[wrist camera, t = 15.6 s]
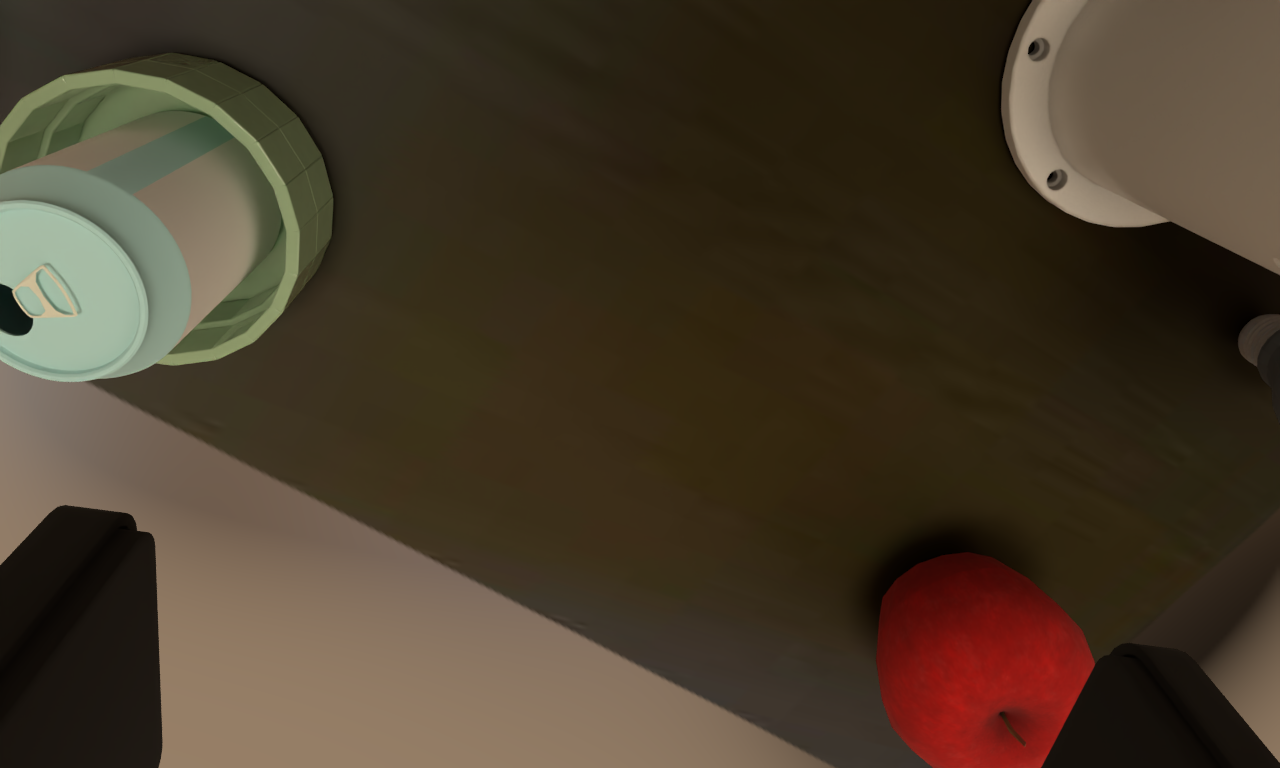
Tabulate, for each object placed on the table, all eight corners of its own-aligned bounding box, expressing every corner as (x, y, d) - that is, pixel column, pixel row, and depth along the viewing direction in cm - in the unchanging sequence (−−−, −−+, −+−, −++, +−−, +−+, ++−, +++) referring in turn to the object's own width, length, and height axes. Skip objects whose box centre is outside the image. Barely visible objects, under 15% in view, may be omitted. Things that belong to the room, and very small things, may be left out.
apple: (956, 478, 47) (1052, 622, 37) (1062, 581, 50) (1177, 738, 40) (810, 594, 50) (863, 756, 40) (920, 684, 53) (994, 855, 43)
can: (246, 305, 40) (119, 438, 30) (85, 220, 39) (-112, 330, 28) (314, 169, 38) (205, 262, 27) (147, 72, 36) (-43, 130, 25)
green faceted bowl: (343, 81, 37) (304, 104, 32) (329, 331, 42) (294, 384, 37) (53, 26, 36) (-34, 41, 31) (72, 291, 40) (-1, 340, 35)
